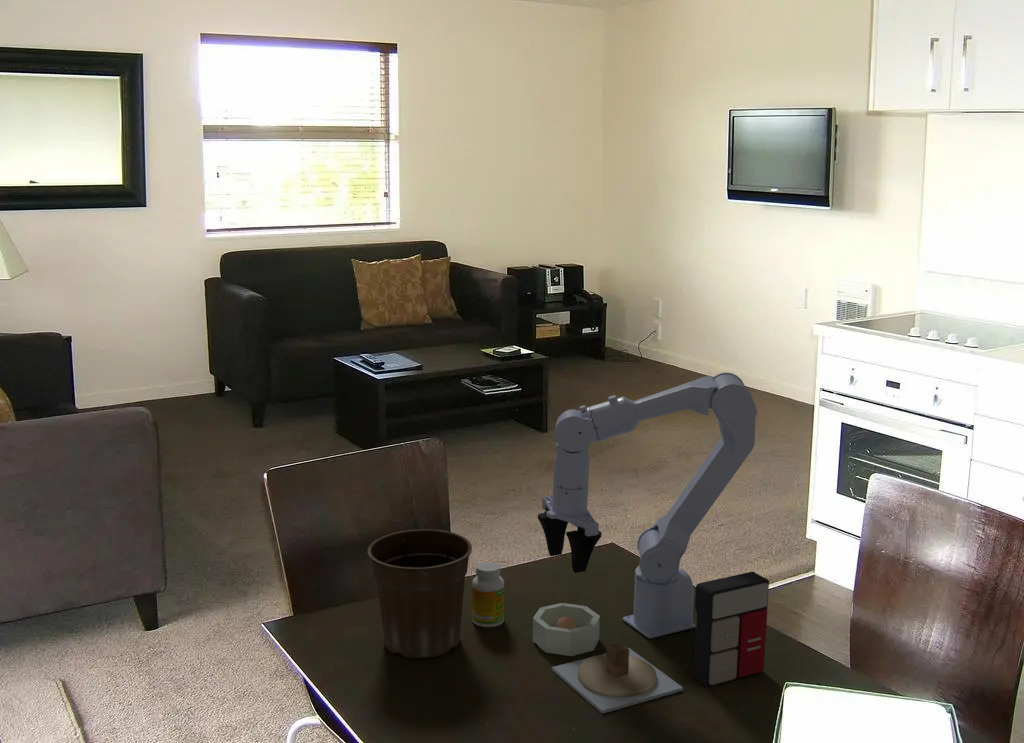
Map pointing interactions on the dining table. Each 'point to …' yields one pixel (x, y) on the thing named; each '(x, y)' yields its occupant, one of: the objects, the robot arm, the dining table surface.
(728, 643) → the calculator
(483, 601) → the supplement bottle
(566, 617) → the ball
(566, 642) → the bowl
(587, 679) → the lid
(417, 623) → the plant pot
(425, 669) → the dining table surface
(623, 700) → the mat
